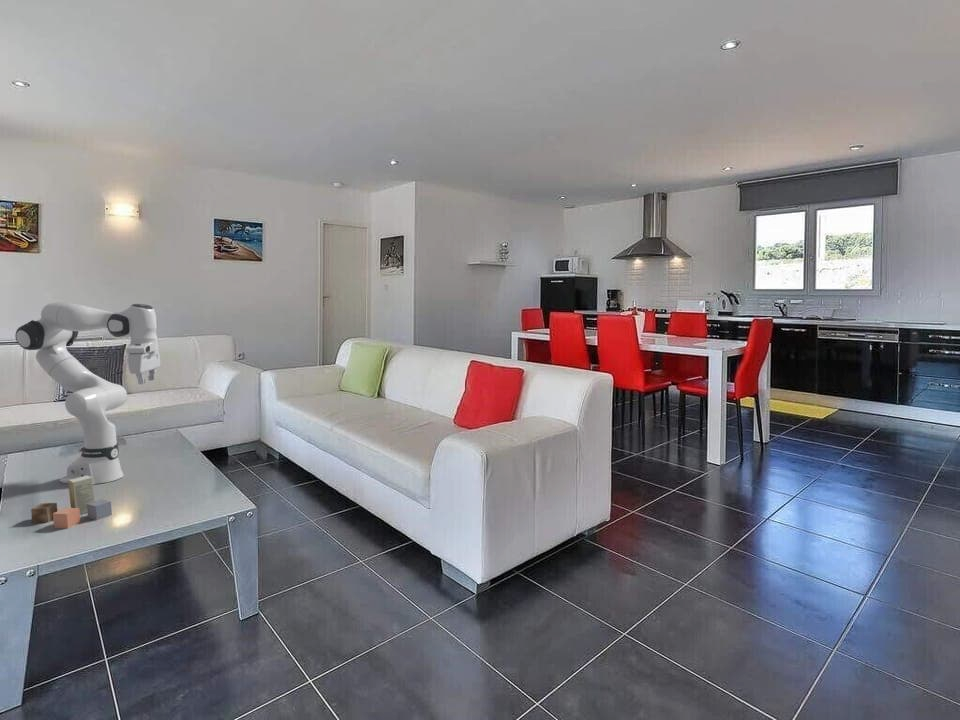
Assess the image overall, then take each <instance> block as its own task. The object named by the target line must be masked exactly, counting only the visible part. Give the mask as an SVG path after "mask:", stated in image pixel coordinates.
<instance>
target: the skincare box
mask: <svg viewBox="0 0 960 720" xmlns="http://www.w3.org/2000/svg"><path fill="white" fill-rule="evenodd" d="M67 484H68V493H69V500H70V501H69V502H70V508H79V511H80V515H83V514H85V513H87V504H88V503H91V502H94V501H96V500H95V491H94V484H93V480H92V477H90V476H88V475H87V476H83V477H79V478H75V479H71V480H68V483H67Z"/></svg>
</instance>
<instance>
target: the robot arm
mask: <svg viewBox="0 0 960 720" xmlns="http://www.w3.org/2000/svg"><path fill="white" fill-rule="evenodd" d="M41 309H42V310H41V312H40V319H38V320H33V319H32V320H30V321H28V322H26V323H25V324H23V325H21V326H19V327H18V328H17V329H16V331H15V334H14V335H15V341H16V342H17V344H18V346H20V347H21V348H22V349H24V350H27V351H37V352H36V353H35V359H36V361H37V363H39V365H40V367H41V368H42V369H43V371H44V372H45V373H46V374H47V375H48V376H50V377H51V379H53V381H55V382H56V383H57V384H58V385H59V386H60V387H61V388H62V390H63V389H64V390H65V391H68V392H72V393H70V394H69V395H67V397H66V398H65V401H64V405H65V409H66V411H67V413H68V414H70V415H71V416H73V417H74V418H76V419H77V421H78V423H79V424H80V426H81V430H82V434H83V442H84V443H83V445H84V446H83V447H82V448H80V449H79V448H78V453H81V455H80V456H79V457H77V458H76V459H75V460H74V461H72V463H70V464H69V465H68V466H67V469H66V476H63V477H62V478H60V479H59V482H60V483H62V484H68V480H71V479H75V478H79V477H83V476H87V475H88V476H90V477H92V480H93V485H99V484H103V483H104V484H105V483H110V482H113V481H116V480H119V479H121V478H123V477H124V476H125V475H124V472H123V470H122V467H121V466H122V465H121V462H120V458H119V444H118V442H117V429H116V428H117V427H116V425H115V424H114V423H112V421H109V420H108V419H107V416H106V412H108V411H111V410H115V409H117V408H119V407H121V406H123V405H124V404H125V403H126V401H127V399H128V393H127V390H126V389H125V387H124V386H122V385H121V384H118V383H113V382H110V381H108V380H106V379H104V378H102V377H100V376H98V375H97V374H94V372H92V371H90V370H89V369H88V368H87V367H85V366H84V364H82V363H81V362H79V360H78V359H77V358H75V356H73V355H72V354H71V353H70V352H69V351H68V349H67V347H71V346H73V345H74V342H75V340H76V339H77V338H78V335H79V332H84V331H85V332H87V331H95V330H101V329H107V330H108V332H109V334H111V336H112V337H115V338H130V342H129V344H128V345H127V346H126V349H125V350H126V354H128V355H127V364H128V370H129V372H130V374H131V375H133V374H135V377H136V379H137V381H138V382H137V384H138V385H144V384H145V383H146V379H145V378H144V373H145V372H149V373H148V376H147V377H148V381H155V378H156V373H157V369H158V368H160V367H161V365H162V363H161V356H160V355H161V354H160V351H159V344H158V343H159V342H158V340H159V339H158V335H157V329H158V320H157V314H156V311H155V309H154V307H153V306H151V305H149V304H145V303H144V304H143V303H134V304H133V303H132V304H131V305H130V306H129V307H128V308H126V309H124V310H122V311H120V312H115V311H110V310H109V311H108V310H105V309H101V308H100V309H99V308H96V307H92V306H88V305H84V304H80V303H74V302H61V301H60V302H51V303H47V304H46V305H45V306H43V308H41Z"/></svg>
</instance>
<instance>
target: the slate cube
mask: <svg viewBox="0 0 960 720" xmlns="http://www.w3.org/2000/svg"><path fill="white" fill-rule="evenodd" d="M112 510H113V509H112V501H111V500H106V499H103V498H102V499H98V500H95V501H94V502H91V503H88V504H87V512H86V513H87V518H88V519H92V520H95V521H98V520H101V519H102V520H103V519H104V518H107V517H110V516H112V515H113V513H112V512H113V511H112Z"/></svg>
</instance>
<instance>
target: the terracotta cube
mask: <svg viewBox="0 0 960 720" xmlns="http://www.w3.org/2000/svg"><path fill="white" fill-rule="evenodd" d="M52 521H53V528H54V529H55V528H56V529H70V528H72V527H74V526H76V525H77V524H80V523H81V514H80V511H79V508H71V507H64V508H62V509H59V510H57V512H55V513H53V520H52Z"/></svg>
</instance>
